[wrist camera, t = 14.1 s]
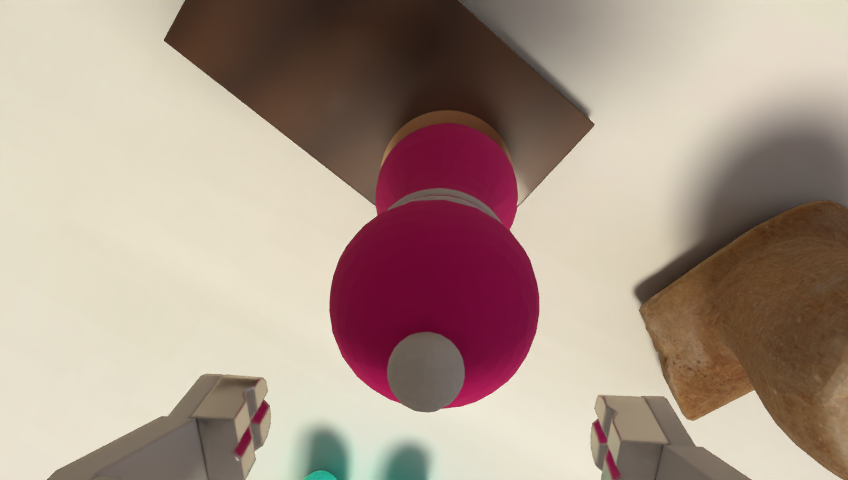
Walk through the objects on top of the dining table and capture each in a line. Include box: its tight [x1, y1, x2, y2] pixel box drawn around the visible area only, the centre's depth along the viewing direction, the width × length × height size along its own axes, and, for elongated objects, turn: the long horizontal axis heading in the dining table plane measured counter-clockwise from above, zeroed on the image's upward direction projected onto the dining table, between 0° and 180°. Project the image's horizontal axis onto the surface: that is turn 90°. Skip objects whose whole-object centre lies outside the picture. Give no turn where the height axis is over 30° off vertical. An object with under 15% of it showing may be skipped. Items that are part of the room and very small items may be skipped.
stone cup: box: [639, 201, 848, 480], centre depth 25 cm, size 15×12×15 cm
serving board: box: [164, 0, 595, 207], centre depth 28 cm, size 22×12×2 cm, turn 51°
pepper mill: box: [329, 123, 539, 412], centre depth 20 cm, size 7×7×20 cm
